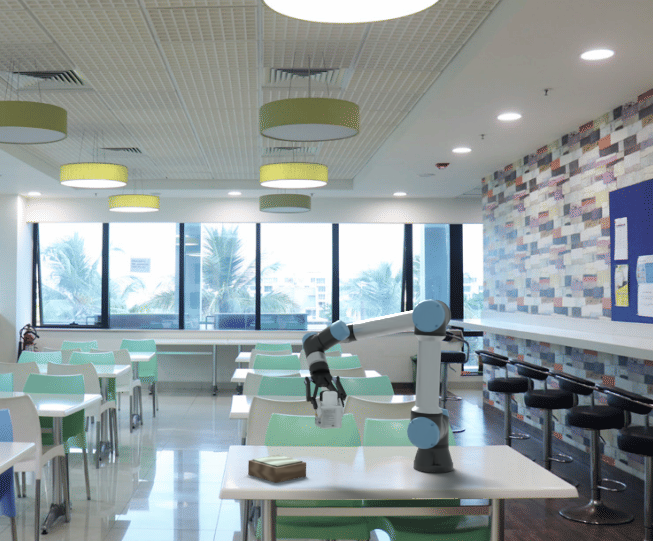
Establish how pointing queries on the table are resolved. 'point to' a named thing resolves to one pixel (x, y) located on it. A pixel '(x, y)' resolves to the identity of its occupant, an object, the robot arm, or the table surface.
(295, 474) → the block
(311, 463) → the table surface
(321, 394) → the container
